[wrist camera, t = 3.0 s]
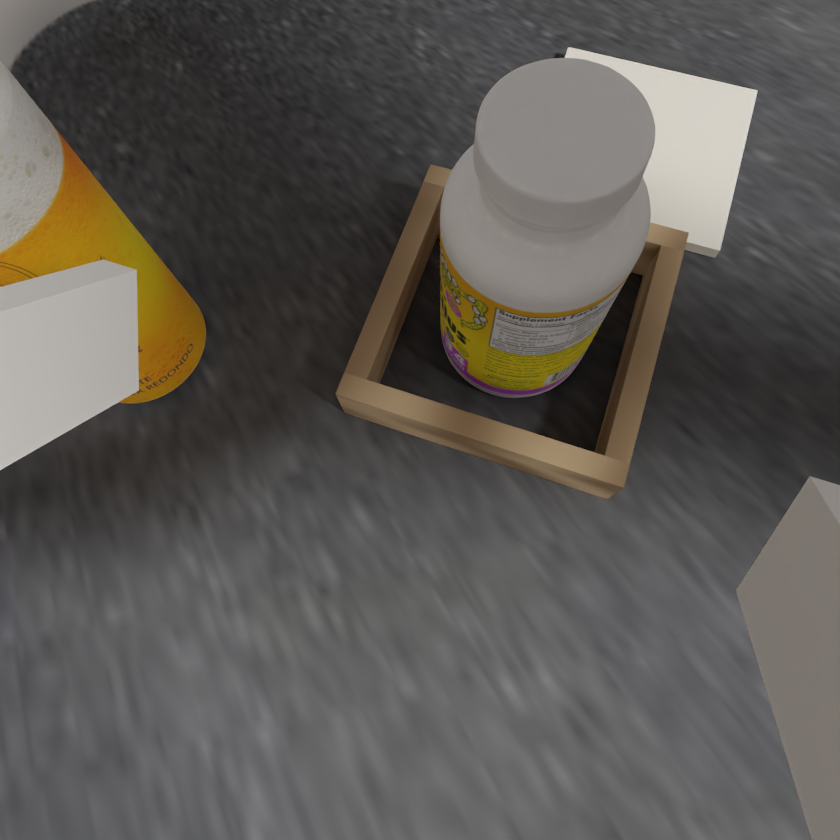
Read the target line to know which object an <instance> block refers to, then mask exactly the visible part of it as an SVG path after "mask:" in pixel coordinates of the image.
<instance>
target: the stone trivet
mask: <svg viewBox="0 0 840 840" xmlns="http://www.w3.org/2000/svg"><path fill="white" fill-rule="evenodd" d="M565 58H576V59H584V60H588V61H592V62H596V63H599V64H601V65H604V66H607V67H609V68H611V69H613V70H615V71H616V72H618V73H620V74H621V75H623V76H624V77H626V78H627V79H628V80H629V81H631V82H632V83H633V84H634V85H635V86H636V87H637V88H638V89H639V91H640V92H641V93H642V94H643V96H644V97H645V99H646V100H647V102H648V104H649V107H650V109H651V111H652V114H653V118H654V123H655V142H654V148H653V151H652V154H651V157H650V159H649V162H648V164H647V167H646V169H645V172H644V174H643V178H644V181H645V183H646V186H647V190H648V194H649V199H650V209H651V218H650V222H651V223H654V224H658V225H662V226H666V227H670V228H673V229H677V230H681V231H685V232H688V233H689V234H688V238H687V242H686V246H685V250H687V251H691V252H694V253H698V254H702V255H705V256H709V257H713V258H715V257H716V255H717V254H718V253H719V251H720V249H721V245H722V240H723V236H724V232H725V228H726V223H727V219H728V215H729V211H730V206H731V202H732V198H733V194H734V189H735V185H736V181H737V177H738V172H739V168H740V164H741V159H742V155H743V151H744V147H745V142H746V138H747V134H748V130H749V125H750V121H751V117H752V113H753V108H754V104H755V100H756V96H757V90H753V89H749V88H744V87H740V86H736V85H731V84H727V83H723V82H718V81H714V80H710V79H705V78H701V77H696V76H692V75H688V74H683V73H679V72H675V71H670V70H666V69H662V68H657V67H653V66H649V65H644V64H640V63H636V62H631V61H627V60H623V59H618V58H614V57H610V56H605V55H601V54H597V53H592V52H588V51H584V50H579V49H575V48H571V47H568V50H567V53H566V55H565Z"/></svg>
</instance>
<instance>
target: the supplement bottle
mask: <svg viewBox="0 0 840 840" xmlns="http://www.w3.org/2000/svg"><path fill="white" fill-rule="evenodd" d="M654 142H655V123H654V118H653V114H652V111H651V109H650V107H649V104H648V102H647V100H646V99H645V97H644V96H643V94H642V93H641V92H640V91H639V89H638V88H637V87H636V86H635V85H634V84H633V83H632V82H631V81H629V80H628V79H627V78H626V77H624V76H623V75H621V74H620V73H618V72H616V71H615V70H613V69H611V68H609V67H607V66H604V65H601V64H599V63H596V62H592V61H588V60H584V59H576V58H553V59H546V60H541V61H537V62H533V63H530V64H527V65H524V66H522V67H519V68H517V69H515V70H514V71H512V72H510V73H509V74H507V75H505V76H504V77H503V78H502V79H500V80H499V81H498V82H497V83H496V84H495V85H494V86H493V87H492V88H491V90H490V91H489V92H488V94H487V95H486V97H485V98H484V100H483V102H482V104H481V106H480V109H479V113H478V116H477V121H476V131H475V141H474V144H473V145H472V146H471V147H470V148H469V149H468V150H467V151H466V152H465V153H464V154H463V155H462V156H461V158H460V159H459V160H458V162H457V163H456V165H455V166H454V168H453V169H452V171H451V173H450V175H449V177H448V180H447V182H446V185H445V188H444V191H443V196H442V201H441V209H440V324H441V337H442V343H443V346H444V349H445V352H446V355H447V357H448V359H449V361H450V362H451V364H452V366H453V367H454V368H455V369H456V371H457V372H458V373H459V374H460V375H461V376H462V377H463V378H464V379H465V380H466V381H467V382H469V383H470V384H471V385H473V386H475V387H476V388H478V389H480V390H482V391H484V392H486V393H489V394H492V395H496V396H500V397H506V398H521V397H530V396H535V395H538V394H541V393H544V392H546V391H549V390H551V389H552V388H554V387H556V386H557V385H559V384H560V383H562V382H563V381H564V380H565V379H566V378H567V377H568V376H569V375H570V374H571V373H572V372H573V371H574V369H575V368H576V367H577V365H578V364H579V362H580V361H581V359H582V357H583V356H584V354H585V352H586V350H587V349H588V347H589V345H590V344H591V342H592V340H593V338H594V336H595V334H596V333H597V331H598V329H599V327H600V325H601V324H602V322H603V320H604V318H605V317H606V315H607V313H608V311H609V309H610V307H611V306H612V304H613V302H614V300H615V299H616V297H617V295H618V293H619V292H620V290H621V288H622V286H623V285H624V283H625V281H626V279H627V278H628V276H629V274H630V273H631V271H632V269H633V268H634V266H635V264H636V262H637V260H638V258H639V257H640V255H641V253H642V250H643V248H644V246H645V242H646V239H647V236H648V232H649V227H650V218H651V209H650V199H649V194H648V190H647V186H646V183H645V181H644V178H643V174H644V172H645V169H646V167H647V164H648V162H649V159H650V157H651V154H652V151H653V148H654Z"/></svg>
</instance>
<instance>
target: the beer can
mask: <svg viewBox="0 0 840 840" xmlns="http://www.w3.org/2000/svg"><path fill="white" fill-rule="evenodd" d="M100 260H106V261H110V262H113V263H116V264H119V265H123V266H126V267H129V268H132V269H136V270H137V313H138V368H139V391H137V392H135V393H133V394H132V395H130V396H128V397H127V398H125V399H123V400H121V401H120V402H118V403H130V404H133V403H142V402H147V401H151V400H154V399H157V398H159V397H161V396H164V395H166V394H167V393H169V392H171V391H172V390H174V389H175V388H177V387H178V386H179V385H180V384H182V383H183V382H184V381H185V380H186V379H187V378H188V377H189V376H190V374H191V373H192V372H193V370H194V369H195V367H196V366H197V364H198V362H199V360H200V358H201V356H202V353H203V350H204V346H205V341H206V326H205V321H204V318H203V315H202V313H201V310H200V308H199V307H198V305H197V304H196V303H195V301H194V300H193V299H192V298H191V296H190V295H189V294H188V293H187V291H186V290H185V289H184V288H183V286H182V285H181V284H180V283H179V281H178V280H177V279H176V278H175V276H174V275H173V274H172V273H171V271H170V270H169V269H168V268H167V266H166V265H165V264H164V263H163V262H162V260H161V259H160V258H159V257H158V255H157V254H156V253H155V252H154V250H153V249H152V248H151V247H150V245H149V244H148V243H147V242H146V240H145V239H144V238H143V237H142V235H141V234H140V233H139V232H138V230H137V229H136V228H135V227H134V225H133V224H132V223H131V222H130V220H129V219H128V218H127V217H126V215H125V214H124V213H123V212H122V211H121V209H120V208H119V207H118V206H117V204H116V203H115V202H114V201H113V199H112V198H111V197H110V196H109V194H108V193H107V192H106V191H105V189H104V188H103V187H102V186H101V184H100V183H99V182H98V181H97V179H96V178H95V177H94V176H93V174H92V173H91V172H90V171H89V169H88V168H87V167H86V166H85V164H84V163H83V162H82V161H81V159H80V158H79V157H78V156H77V155H76V153H75V152H74V151H73V150H72V148H71V147H70V146H69V145H68V143H67V142H66V141H65V140H64V138H63V137H62V136H61V135H60V133H59V132H58V131H57V130H56V128H55V127H54V126H53V125H52V123H51V122H50V121H49V120H48V118H47V117H46V116H45V115H44V113H43V112H42V111H41V110H40V108H39V107H38V106H37V105H36V104H35V102H34V101H33V100H32V99H31V97H30V96H29V95H28V94H27V92H26V91H25V90H24V89H23V87H22V86H21V85H20V84H19V82H18V81H17V80H16V79H15V77H14V76H13V75H12V74H11V72H10V71H9V70H8V69H7V67H6V66H5V65H4V64H3V62H2V61H1V60H0V287H2V286H6V285H10V284H14V283H17V282H21V281H25V280H29V279H32V278H36V277H40V276H43V275H47V274H51V273H55V272H58V271H62V270H66V269H70V268H73V267H77V266H81V265H85V264H88V263H92V262H96V261H100Z"/></svg>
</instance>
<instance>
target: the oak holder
mask: <svg viewBox="0 0 840 840" xmlns="http://www.w3.org/2000/svg"><path fill="white" fill-rule="evenodd" d="M451 171H452V170H451V169H447V168H443V167H439V166H435V165H432V164H431V165H430V167H429V170H428V172H427V174H426V177H425V179H424V182H423V184H422V186H421V189H420V191H419V194H418V196H417V198H416V201H415V203H414V206H413V208H412V211H411V213H410V215H409V218H408V220H407V223H406V225H405V227H404V230H403V232H402V235H401V237H400V239H399V242H398V244H397V247H396V249H395V251H394V254H393V256H392V259H391V261H390V263H389V266H388V268H387V271H386V273H385V276H384V278H383V280H382V283H381V285H380V288H379V290H378V292H377V295H376V297H375V300H374V302H373V304H372V307H371V309H370V312H369V314H368V316H367V319H366V321H365V324H364V326H363V329H362V331H361V333H360V336H359V338H358V341H357V343H356V345H355V348H354V350H353V353H352V355H351V357H350V360H349V362H348V365H347V367H346V369H345V372H344V374H343V377H342V379H341V382H340V384H339V386H338V389H337V391H336V396H337V398H338V400H339V402H340V404H341V406H342V408H343V410H344V412H345V413H346V414H349V415H352V416H355V417H359V418H362V419H365V420H368V421H371V422H374V423H377V424H380V425H383V426H386V427H389V428H392V429H395V430H398V431H401V432H404V433H407V434H410V435H413V436H416V437H419V438H422V439H425V440H428V441H431V442H435V443H438V444H441V445H444V446H447V447H450V448H453V449H456V450H459V451H462V452H465V453H468V454H471V455H474V456H477V457H480V458H483V459H486V460H489V461H492V462H495V463H498V464H501V465H504V466H507V467H511V468H514V469H517V470H520V471H523V472H526V473H529V474H532V475H535V476H538V477H541V478H544V479H547V480H550V481H553V482H556V483H559V484H562V485H565V486H568V487H571V488H574V489H577V490H580V491H583V492H586V493H590V494H593V495H596V496H599V497H602V498H605V499H608V498H609V497H611V496H612V495H614V494H615V493H617V492H618V491H620V490H621V489H623V488H624V485H625V482H626V478H627V474H628V470H629V466H630V462H631V458H632V454H633V450H634V446H635V442H636V438H637V434H638V430H639V427H640V423H641V419H642V415H643V411H644V407H645V403H646V399H647V395H648V391H649V387H650V383H651V379H652V376H653V372H654V368H655V364H656V360H657V356H658V352H659V348H660V344H661V340H662V336H663V332H664V328H665V325H666V321H667V317H668V313H669V309H670V305H671V301H672V297H673V293H674V289H675V285H676V281H677V277H678V274H679V270H680V266H681V262H682V258H683V254H684V250H685V246H686V242H687V238H688V234H689V233H688V232H685V231H681V230H677V229H673V228H670V227H666V226H662V225H658V224H654V223H651V222H650V227H649V232H648V236H647V239H646V242H645V246H644V248H643V250H642V253H641V255H640V257H639V258H638V260H637V262H636V264H635V266H634V268H633V269H632V271H631V273H635V274H639V275H642V276H643V277H642V281H641V284H640V288H639V292H638V295H637V299H636V302H635V306H634V310H633V313H632V317H631V321H630V324H629V328H628V332H627V335H626V339H625V343H624V346H623V350H622V354H621V357H620V361H619V365H618V368H617V372H616V375H615V379H614V383H613V386H612V390H611V394H610V397H609V401H608V405H607V408H606V412H605V416H604V419H603V423H602V427H601V430H600V434H599V437H598V441H597V445H596V448H595V452H592V451H588V450H585V449H582V448H579V447H576V446H573V445H570V444H566V443H563V442H560V441H557V440H554V439H551V438H548V437H545V436H541V435H538V434H535V433H532V432H529V431H526V430H523V429H520V428H516V427H513V426H510V425H507V424H504V423H501V422H498V421H494V420H491V419H488V418H485V417H482V416H479V415H476V414H473V413H469V412H466V411H463V410H460V409H457V408H454V407H451V406H448V405H444V404H441V403H438V402H435V401H432V400H429V399H426V398H422V397H419V396H416V395H413V394H410V393H407V392H404V391H401V390H397V389H394V388H391V387H388V386H385V385H382V384H380V381H381V379H382V376H383V374H384V371H385V369H386V366H387V364H388V361H389V359H390V356H391V354H392V351H393V349H394V346H395V343H396V341H397V338H398V336H399V333H400V331H401V328H402V326H403V323H404V321H405V318H406V316H407V313H408V311H409V308H410V305H411V303H412V300H413V298H414V295H415V293H416V290H417V288H418V285H419V283H420V280H421V278H422V275H423V272H424V270H425V267H426V265H427V262H428V260H429V257H430V255H431V252H432V250H433V247H434V245H435V242H436V240H437V237H438V234H439V232H440V209H441V201H442V196H443V191H444V188H445V185H446V182H447V180H448V177H449V175H450V173H451Z"/></svg>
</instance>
